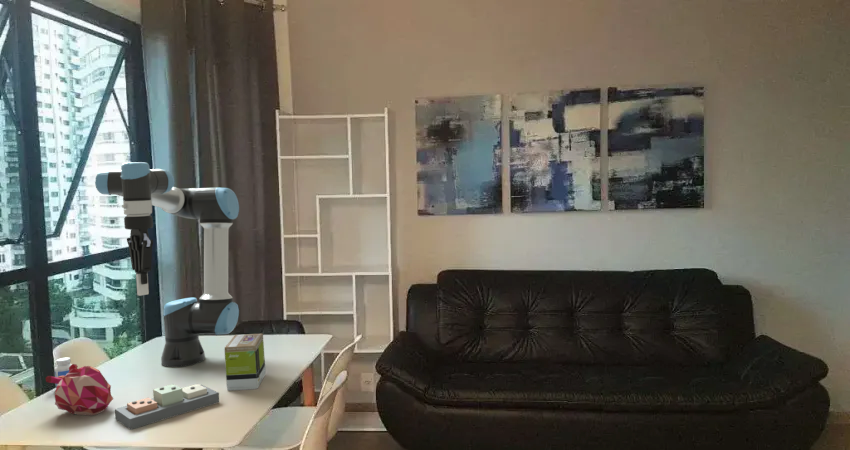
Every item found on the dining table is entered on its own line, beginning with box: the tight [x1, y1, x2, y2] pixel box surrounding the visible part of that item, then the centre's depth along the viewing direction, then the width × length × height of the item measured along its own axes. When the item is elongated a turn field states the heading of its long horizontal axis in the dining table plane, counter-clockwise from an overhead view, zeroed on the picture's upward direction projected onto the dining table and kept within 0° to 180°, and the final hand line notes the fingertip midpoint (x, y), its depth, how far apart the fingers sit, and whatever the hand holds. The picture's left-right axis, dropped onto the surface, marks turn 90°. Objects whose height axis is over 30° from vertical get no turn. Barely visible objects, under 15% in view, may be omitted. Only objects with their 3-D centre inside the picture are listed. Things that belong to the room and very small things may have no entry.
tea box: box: [224, 333, 267, 392], centre depth 201 cm, size 15×10×15 cm, turn 5°
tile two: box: [152, 383, 183, 407], centre depth 178 cm, size 6×6×4 cm
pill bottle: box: [54, 356, 72, 388], centre depth 199 cm, size 6×5×10 cm
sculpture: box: [45, 363, 114, 416], centre depth 179 cm, size 14×12×20 cm
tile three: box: [126, 397, 157, 415], centre depth 172 cm, size 6×6×4 cm
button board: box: [114, 384, 220, 430], centre depth 178 cm, size 11×26×3 cm, turn 137°
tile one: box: [181, 383, 207, 399], centre depth 183 cm, size 6×6×4 cm
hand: (143, 294), depth 179 cm, fingers closed
